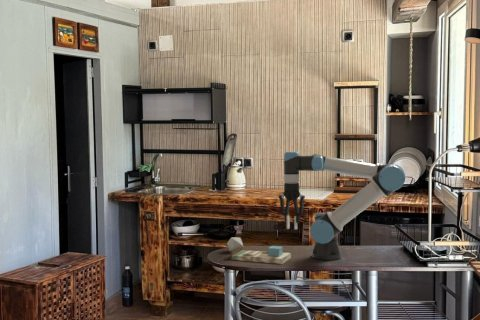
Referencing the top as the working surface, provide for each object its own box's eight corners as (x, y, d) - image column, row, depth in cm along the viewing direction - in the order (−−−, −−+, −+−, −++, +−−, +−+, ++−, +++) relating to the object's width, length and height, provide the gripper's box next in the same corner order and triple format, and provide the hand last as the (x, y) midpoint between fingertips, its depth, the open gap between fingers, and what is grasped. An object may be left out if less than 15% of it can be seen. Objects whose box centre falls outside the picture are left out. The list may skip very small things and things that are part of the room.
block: (282, 254, 278) (282, 246, 278) (279, 256, 272) (279, 248, 272) (271, 253, 280) (271, 245, 280) (267, 255, 274) (267, 248, 274)
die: (245, 251, 299) (237, 236, 303) (245, 247, 292) (238, 231, 295) (232, 257, 298) (224, 242, 301) (232, 253, 290) (224, 237, 294)
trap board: (290, 257, 280) (290, 248, 280) (282, 263, 267) (282, 254, 267) (240, 253, 291) (240, 245, 291) (230, 259, 278) (230, 250, 278)
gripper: (309, 182, 271) (309, 228, 272) (278, 181, 277) (278, 226, 279) (305, 183, 264) (305, 231, 265) (273, 182, 271) (274, 229, 272)
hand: (292, 228), depth 272 cm, fingers open, 3 cm apart
